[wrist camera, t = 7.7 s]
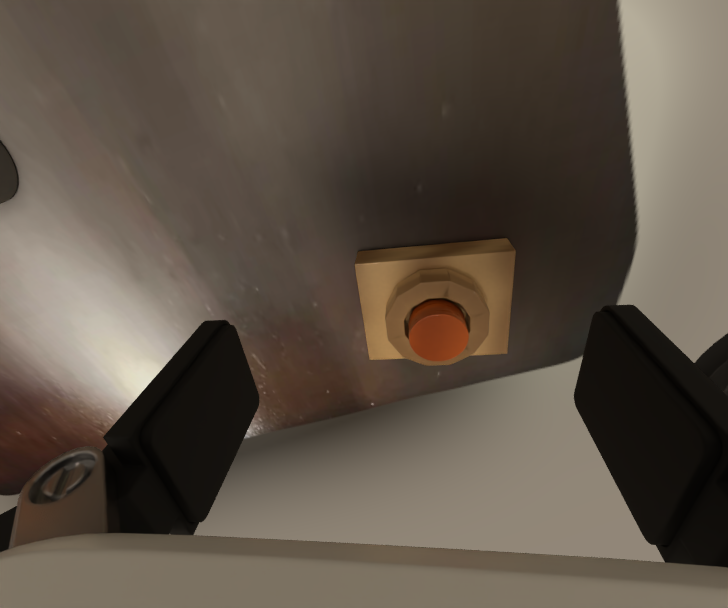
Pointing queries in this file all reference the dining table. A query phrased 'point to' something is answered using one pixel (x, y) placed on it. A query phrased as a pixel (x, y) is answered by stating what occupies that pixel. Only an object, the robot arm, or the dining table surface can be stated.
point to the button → (437, 330)
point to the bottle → (7, 176)
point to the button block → (436, 294)
